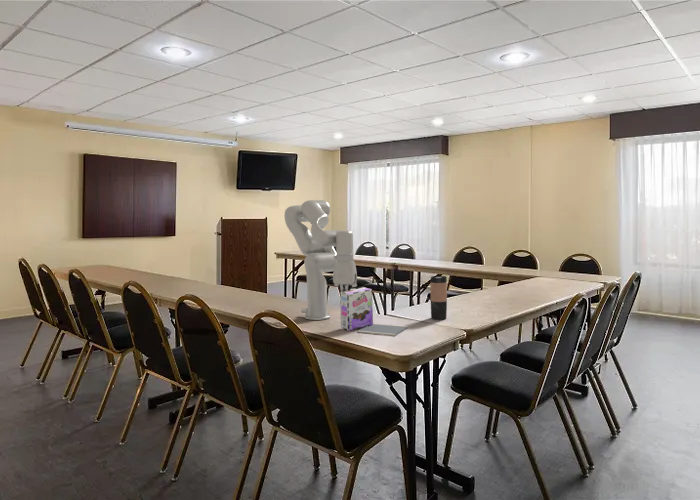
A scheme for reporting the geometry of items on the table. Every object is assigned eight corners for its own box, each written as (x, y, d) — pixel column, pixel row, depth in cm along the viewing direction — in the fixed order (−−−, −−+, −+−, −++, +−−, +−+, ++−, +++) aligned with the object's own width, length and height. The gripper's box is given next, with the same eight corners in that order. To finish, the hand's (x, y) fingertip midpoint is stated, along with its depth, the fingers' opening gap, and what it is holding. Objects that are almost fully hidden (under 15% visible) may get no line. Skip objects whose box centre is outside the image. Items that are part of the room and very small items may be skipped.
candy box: (348, 331, 215) (347, 294, 212) (340, 328, 219) (339, 291, 217) (373, 324, 223) (372, 288, 220) (365, 321, 227) (364, 286, 225)
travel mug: (449, 319, 235) (449, 277, 234) (435, 320, 233) (435, 278, 231) (442, 316, 242) (442, 275, 241) (427, 317, 240) (427, 276, 238)
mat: (357, 332, 212) (357, 330, 212) (372, 324, 226) (372, 323, 226) (395, 336, 205) (395, 334, 205) (408, 327, 219) (408, 326, 219)
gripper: (326, 259, 221) (327, 300, 222) (356, 259, 214) (357, 301, 216) (334, 257, 228) (335, 297, 229) (363, 258, 221) (364, 299, 222)
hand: (345, 299), depth 222 cm, fingers closed
